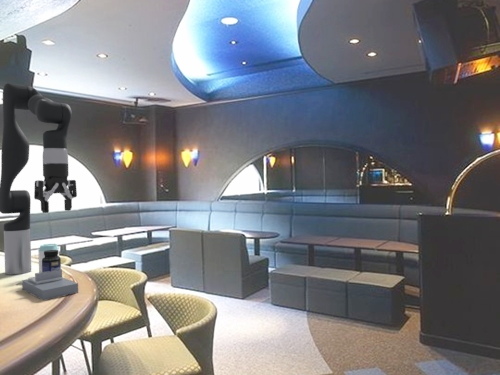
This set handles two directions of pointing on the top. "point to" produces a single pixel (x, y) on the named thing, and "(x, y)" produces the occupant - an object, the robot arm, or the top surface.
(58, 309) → the top surface
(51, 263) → the pill bottle
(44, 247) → the can
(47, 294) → the socket plate
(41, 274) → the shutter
